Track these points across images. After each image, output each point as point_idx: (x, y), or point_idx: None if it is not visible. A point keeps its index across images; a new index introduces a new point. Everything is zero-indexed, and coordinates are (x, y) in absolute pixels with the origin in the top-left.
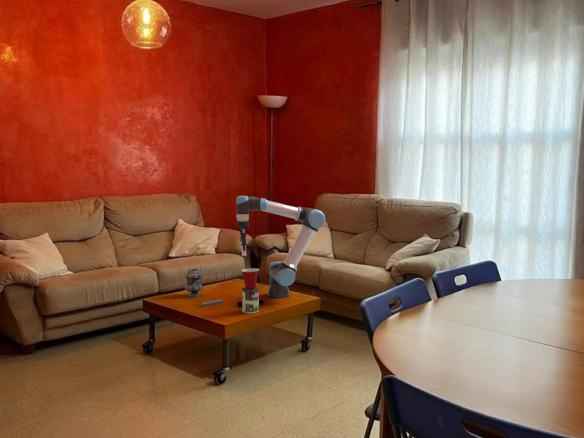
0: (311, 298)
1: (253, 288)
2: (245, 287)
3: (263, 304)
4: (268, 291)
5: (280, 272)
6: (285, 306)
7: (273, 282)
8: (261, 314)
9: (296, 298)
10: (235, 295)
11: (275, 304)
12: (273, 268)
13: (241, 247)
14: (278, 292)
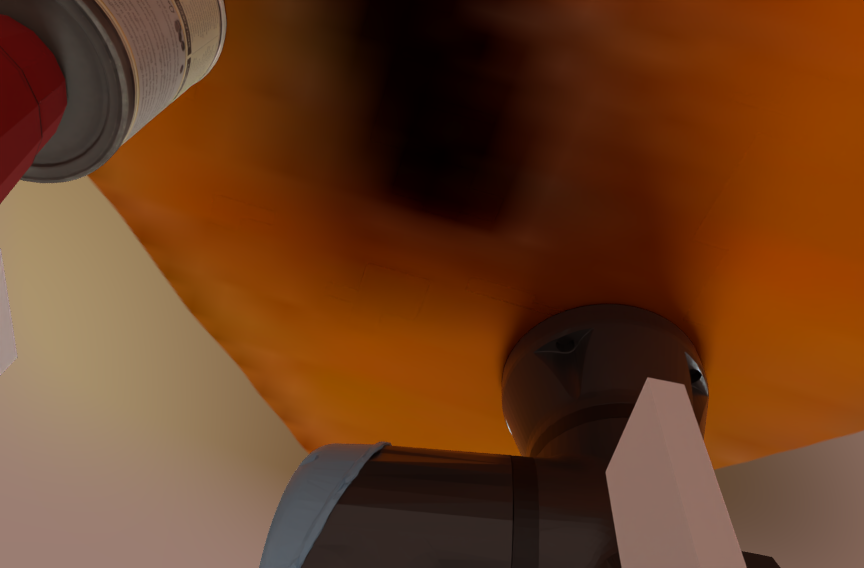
0: None
1: None
2: (83, 27)
3: (347, 188)
4: (611, 334)
5: (270, 547)
6: (243, 326)
7: (569, 429)
8: None
9: None
10: (825, 8)
11: (320, 278)
12: (563, 558)
13: (668, 505)
14: (514, 390)
